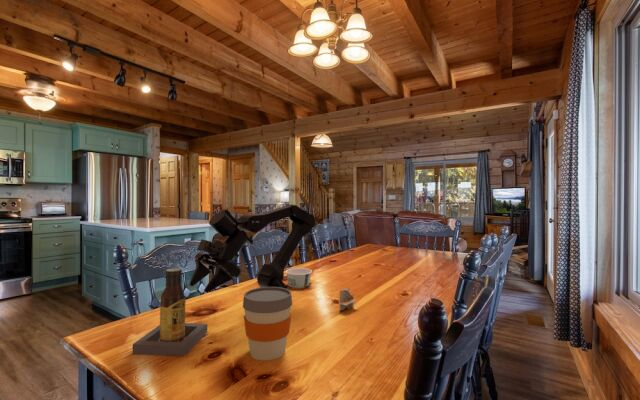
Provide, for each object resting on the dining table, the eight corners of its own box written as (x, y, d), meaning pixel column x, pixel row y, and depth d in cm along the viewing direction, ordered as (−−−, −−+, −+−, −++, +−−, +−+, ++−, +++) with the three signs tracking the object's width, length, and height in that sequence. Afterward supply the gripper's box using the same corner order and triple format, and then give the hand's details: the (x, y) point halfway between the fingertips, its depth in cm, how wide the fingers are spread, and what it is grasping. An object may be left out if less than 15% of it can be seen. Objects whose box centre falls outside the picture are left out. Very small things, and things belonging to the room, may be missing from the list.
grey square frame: (207, 332, 91) (207, 323, 91) (184, 355, 78) (184, 345, 78) (163, 330, 92) (163, 322, 92) (132, 353, 79) (132, 344, 79)
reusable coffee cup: (270, 370, 72) (270, 305, 71) (232, 355, 78) (232, 295, 78) (301, 347, 82) (301, 291, 82) (265, 336, 89) (266, 284, 89)
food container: (317, 284, 142) (317, 270, 142) (301, 291, 132) (301, 275, 132) (296, 280, 148) (296, 266, 148) (279, 286, 138) (279, 271, 138)
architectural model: (356, 309, 111) (357, 289, 111) (345, 315, 106) (345, 293, 106) (349, 307, 114) (349, 287, 114) (337, 312, 108) (337, 291, 108)
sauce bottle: (175, 349, 81) (175, 273, 81) (154, 346, 82) (154, 272, 82) (190, 338, 88) (190, 267, 87) (170, 336, 89) (170, 266, 89)
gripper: (200, 227, 100) (164, 267, 92) (231, 231, 87) (193, 278, 79) (222, 248, 106) (190, 288, 98) (254, 256, 93) (221, 301, 85)
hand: (197, 288), depth 90 cm, fingers open, 9 cm apart
